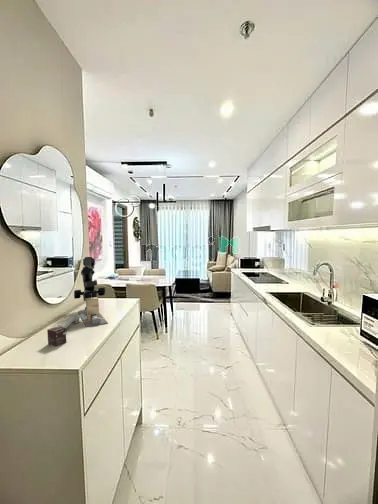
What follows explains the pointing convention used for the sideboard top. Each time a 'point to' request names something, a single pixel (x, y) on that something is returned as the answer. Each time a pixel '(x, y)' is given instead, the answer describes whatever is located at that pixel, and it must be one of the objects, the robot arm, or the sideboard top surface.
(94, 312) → the notched wooden block
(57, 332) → the box
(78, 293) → the robot arm
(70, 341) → the sideboard top surface
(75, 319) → the grey flashlight
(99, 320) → the grey board
